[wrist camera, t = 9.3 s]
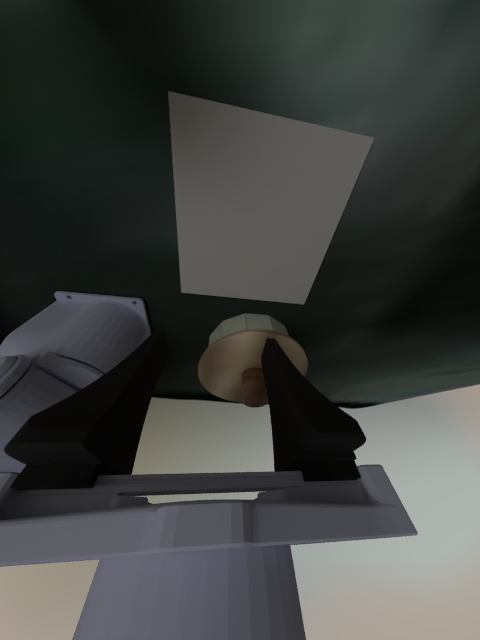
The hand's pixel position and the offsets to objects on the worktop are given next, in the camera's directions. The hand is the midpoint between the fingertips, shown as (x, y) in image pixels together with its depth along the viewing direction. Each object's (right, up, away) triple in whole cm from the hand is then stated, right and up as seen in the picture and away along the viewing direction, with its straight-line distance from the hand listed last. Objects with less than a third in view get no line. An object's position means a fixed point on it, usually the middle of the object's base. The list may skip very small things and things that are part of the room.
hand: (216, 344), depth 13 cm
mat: (+3, +11, +5) cm, 12 cm away
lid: (+3, -5, +11) cm, 12 cm away
